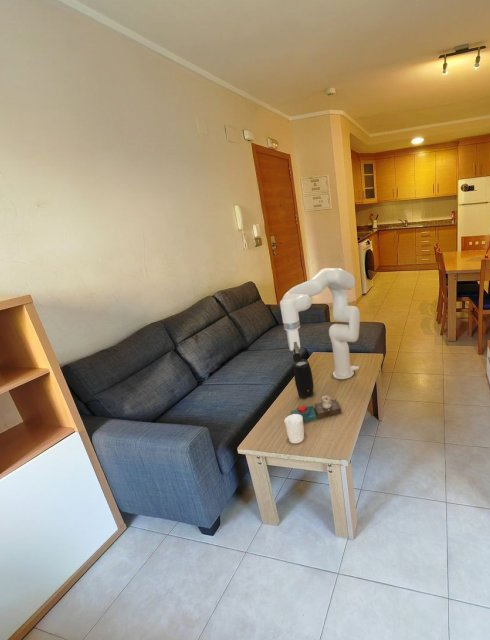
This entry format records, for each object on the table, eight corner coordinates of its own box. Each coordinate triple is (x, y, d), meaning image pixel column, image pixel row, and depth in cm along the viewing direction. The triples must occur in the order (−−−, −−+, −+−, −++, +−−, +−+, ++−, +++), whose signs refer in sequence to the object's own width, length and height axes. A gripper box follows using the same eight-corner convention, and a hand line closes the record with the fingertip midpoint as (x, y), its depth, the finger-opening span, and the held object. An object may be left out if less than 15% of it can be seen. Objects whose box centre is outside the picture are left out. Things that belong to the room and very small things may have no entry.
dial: (321, 404, 168) (320, 396, 166) (330, 402, 169) (329, 394, 167) (323, 409, 164) (322, 400, 162) (332, 407, 165) (331, 398, 163)
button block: (313, 409, 170) (312, 402, 169) (316, 419, 162) (315, 412, 160) (291, 414, 167) (290, 407, 166) (293, 425, 159) (292, 417, 158)
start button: (305, 407, 165) (305, 404, 165) (307, 411, 162) (306, 408, 162) (298, 409, 165) (298, 406, 164) (299, 413, 161) (299, 410, 161)
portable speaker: (314, 398, 180) (309, 364, 174) (297, 400, 180) (291, 367, 174) (314, 389, 188) (310, 357, 182) (297, 392, 188) (292, 360, 182)
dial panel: (336, 404, 173) (335, 398, 172) (340, 413, 164) (340, 407, 163) (315, 409, 170) (314, 403, 169) (318, 418, 162) (317, 413, 161)
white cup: (290, 446, 145) (286, 426, 141) (285, 436, 152) (282, 417, 148) (308, 440, 147) (304, 421, 144) (302, 430, 154) (299, 411, 151)
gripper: (281, 321, 162) (287, 356, 168) (285, 331, 148) (291, 369, 154) (297, 319, 164) (302, 353, 170) (302, 328, 150) (307, 365, 156)
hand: (297, 360), depth 162 cm, fingers closed
